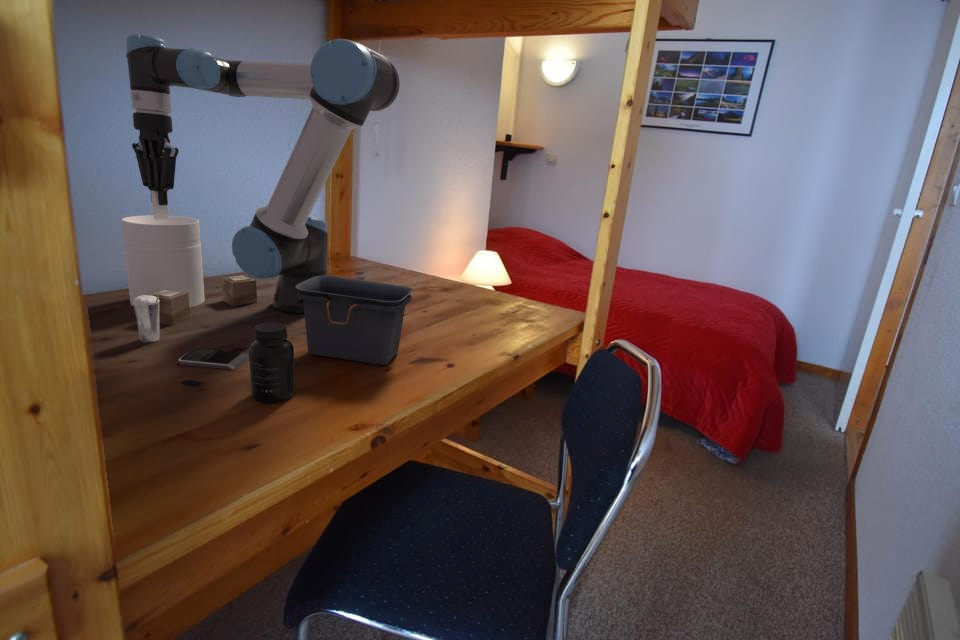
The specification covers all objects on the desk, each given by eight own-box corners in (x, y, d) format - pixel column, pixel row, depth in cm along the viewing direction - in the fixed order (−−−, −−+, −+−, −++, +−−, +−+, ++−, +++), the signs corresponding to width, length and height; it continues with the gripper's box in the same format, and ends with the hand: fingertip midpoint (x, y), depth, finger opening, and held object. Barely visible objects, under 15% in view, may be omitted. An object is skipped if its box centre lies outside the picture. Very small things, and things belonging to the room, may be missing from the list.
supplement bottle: (258, 385, 92) (255, 319, 88) (299, 387, 93) (298, 321, 89) (244, 403, 85) (241, 332, 82) (288, 405, 86) (287, 334, 82)
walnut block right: (256, 302, 138) (256, 279, 136) (233, 306, 133) (232, 281, 131) (245, 297, 141) (244, 274, 139) (222, 300, 137) (221, 276, 135)
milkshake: (154, 345, 104) (149, 296, 102) (131, 341, 105) (125, 292, 102) (172, 338, 109) (167, 291, 106) (149, 334, 110) (144, 287, 107)
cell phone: (194, 354, 103) (193, 348, 103) (251, 360, 103) (250, 353, 103) (175, 367, 97) (175, 359, 97) (236, 372, 97) (235, 365, 97)
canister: (116, 300, 130) (107, 217, 124) (181, 289, 143) (175, 214, 137) (153, 314, 122) (144, 226, 116) (218, 302, 135) (213, 222, 129)
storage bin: (414, 350, 115) (417, 285, 110) (392, 377, 100) (395, 304, 96) (319, 337, 117) (319, 273, 113) (285, 362, 102) (283, 290, 98)
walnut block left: (190, 318, 122) (188, 291, 120) (173, 325, 116) (170, 297, 114) (165, 315, 122) (163, 288, 121) (147, 322, 117) (144, 294, 115)
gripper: (116, 109, 119) (127, 216, 126) (155, 112, 114) (164, 223, 121) (149, 113, 125) (158, 214, 132) (187, 116, 120) (194, 221, 127)
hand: (160, 218), depth 126 cm, fingers closed
